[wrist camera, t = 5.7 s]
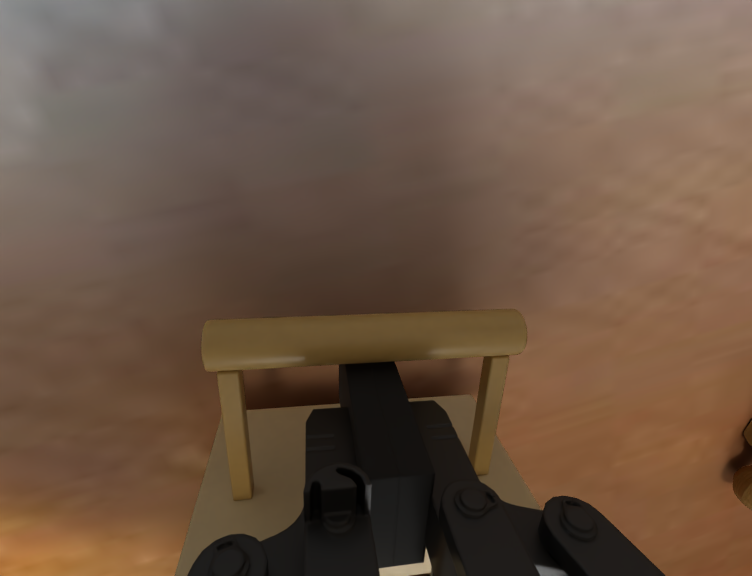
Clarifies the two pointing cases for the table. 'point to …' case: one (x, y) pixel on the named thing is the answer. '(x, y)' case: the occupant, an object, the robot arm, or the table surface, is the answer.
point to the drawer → (288, 425)
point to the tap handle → (744, 477)
